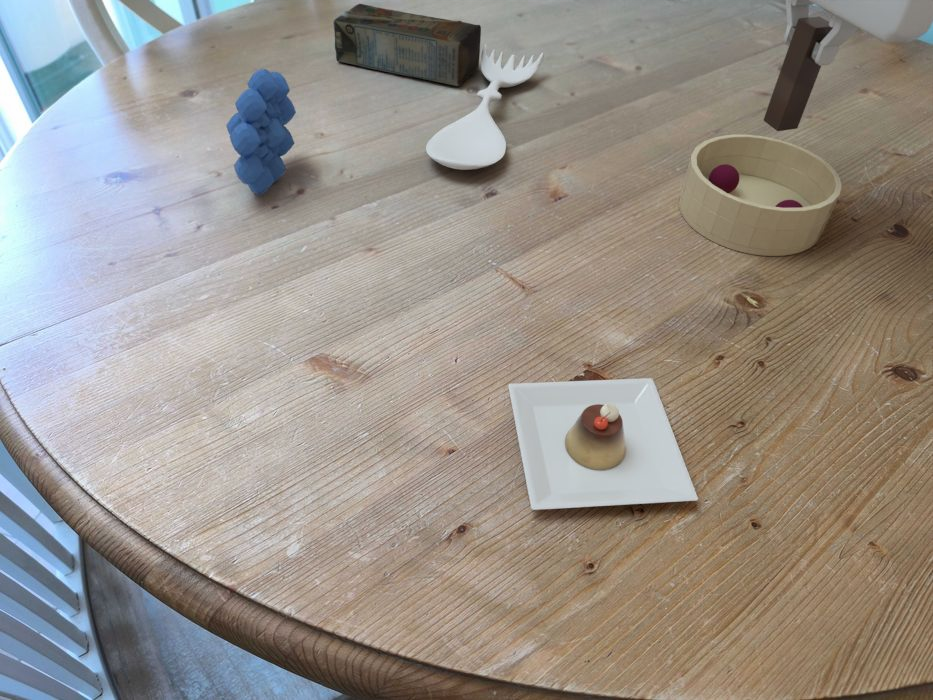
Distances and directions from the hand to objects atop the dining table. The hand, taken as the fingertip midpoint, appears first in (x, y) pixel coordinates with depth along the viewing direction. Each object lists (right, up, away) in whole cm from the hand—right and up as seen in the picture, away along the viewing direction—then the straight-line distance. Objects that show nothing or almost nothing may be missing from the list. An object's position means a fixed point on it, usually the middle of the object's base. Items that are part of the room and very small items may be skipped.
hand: (806, 53), depth 70 cm
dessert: (-22, -35, -12) cm, 43 cm away
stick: (0, -5, +5) cm, 7 cm away
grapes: (-54, -9, +13) cm, 56 cm away
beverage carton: (-40, +12, +36) cm, 55 cm away
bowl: (-1, -13, +12) cm, 18 cm away
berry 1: (-3, -9, +12) cm, 16 cm away
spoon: (-29, +2, +25) cm, 39 cm away
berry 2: (+2, -14, +8) cm, 16 cm away
